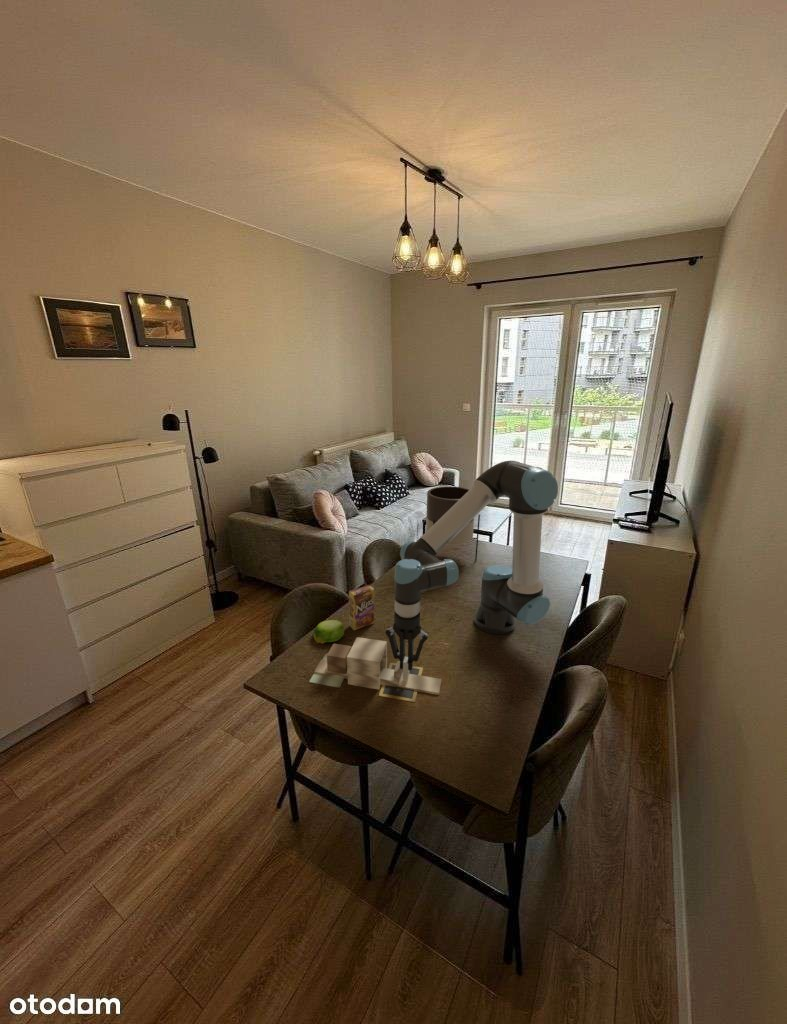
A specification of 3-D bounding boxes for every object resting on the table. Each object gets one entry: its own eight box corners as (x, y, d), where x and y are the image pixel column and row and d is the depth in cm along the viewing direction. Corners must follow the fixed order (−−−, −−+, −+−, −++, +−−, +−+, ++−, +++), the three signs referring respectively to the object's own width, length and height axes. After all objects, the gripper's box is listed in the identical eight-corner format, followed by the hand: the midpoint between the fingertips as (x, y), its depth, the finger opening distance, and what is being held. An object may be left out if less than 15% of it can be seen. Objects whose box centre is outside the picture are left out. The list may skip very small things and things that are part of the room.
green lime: (331, 649, 145) (330, 637, 143) (307, 639, 150) (307, 627, 149) (351, 632, 154) (350, 621, 153) (328, 623, 160) (327, 612, 158)
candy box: (354, 631, 154) (353, 595, 149) (349, 625, 158) (347, 590, 153) (375, 623, 159) (374, 588, 154) (369, 618, 162) (368, 583, 157)
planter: (460, 576, 195) (464, 505, 183) (414, 563, 208) (415, 495, 196) (481, 556, 216) (486, 491, 204) (438, 545, 228) (440, 483, 217)
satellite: (443, 671, 134) (444, 644, 131) (437, 706, 121) (438, 677, 117) (326, 652, 143) (325, 627, 139) (308, 683, 129) (306, 656, 126)
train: (402, 672, 133) (402, 654, 130) (398, 685, 127) (398, 666, 125) (331, 660, 138) (330, 643, 135) (324, 673, 132) (323, 654, 130)
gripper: (431, 607, 123) (428, 672, 131) (388, 601, 126) (388, 665, 134) (427, 621, 116) (425, 689, 124) (382, 615, 119) (382, 682, 127)
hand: (406, 676), depth 129 cm, fingers closed
